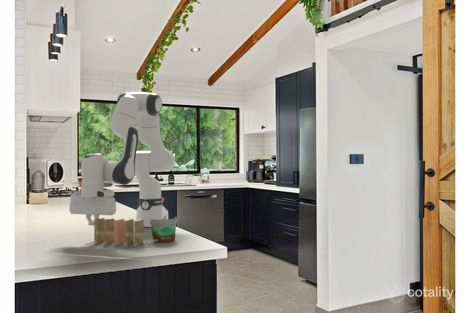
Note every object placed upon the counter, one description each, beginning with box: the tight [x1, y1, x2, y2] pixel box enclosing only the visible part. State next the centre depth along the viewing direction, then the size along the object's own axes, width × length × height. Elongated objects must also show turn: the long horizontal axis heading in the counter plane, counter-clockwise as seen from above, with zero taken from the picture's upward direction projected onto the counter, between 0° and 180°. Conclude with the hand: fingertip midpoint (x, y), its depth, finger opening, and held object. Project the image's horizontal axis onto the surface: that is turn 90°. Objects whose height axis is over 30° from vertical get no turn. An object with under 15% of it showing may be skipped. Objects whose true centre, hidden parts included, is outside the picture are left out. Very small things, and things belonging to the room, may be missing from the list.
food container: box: [150, 216, 179, 244], centre depth 173 cm, size 12×6×10 cm, turn 126°
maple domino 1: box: [93, 217, 105, 244], centre depth 171 cm, size 2×5×10 cm, turn 165°
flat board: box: [83, 241, 154, 249], centre depth 169 cm, size 10×26×1 cm, turn 75°
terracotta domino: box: [114, 218, 125, 245], centre depth 169 cm, size 2×5×10 cm, turn 166°
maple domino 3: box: [124, 218, 135, 246], centre depth 168 cm, size 2×5×10 cm, turn 165°
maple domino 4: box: [134, 219, 145, 246], centre depth 167 cm, size 2×5×10 cm, turn 165°
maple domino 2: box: [104, 217, 115, 245], centre depth 170 cm, size 2×5×10 cm, turn 165°
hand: (92, 225), depth 172 cm, fingers closed
